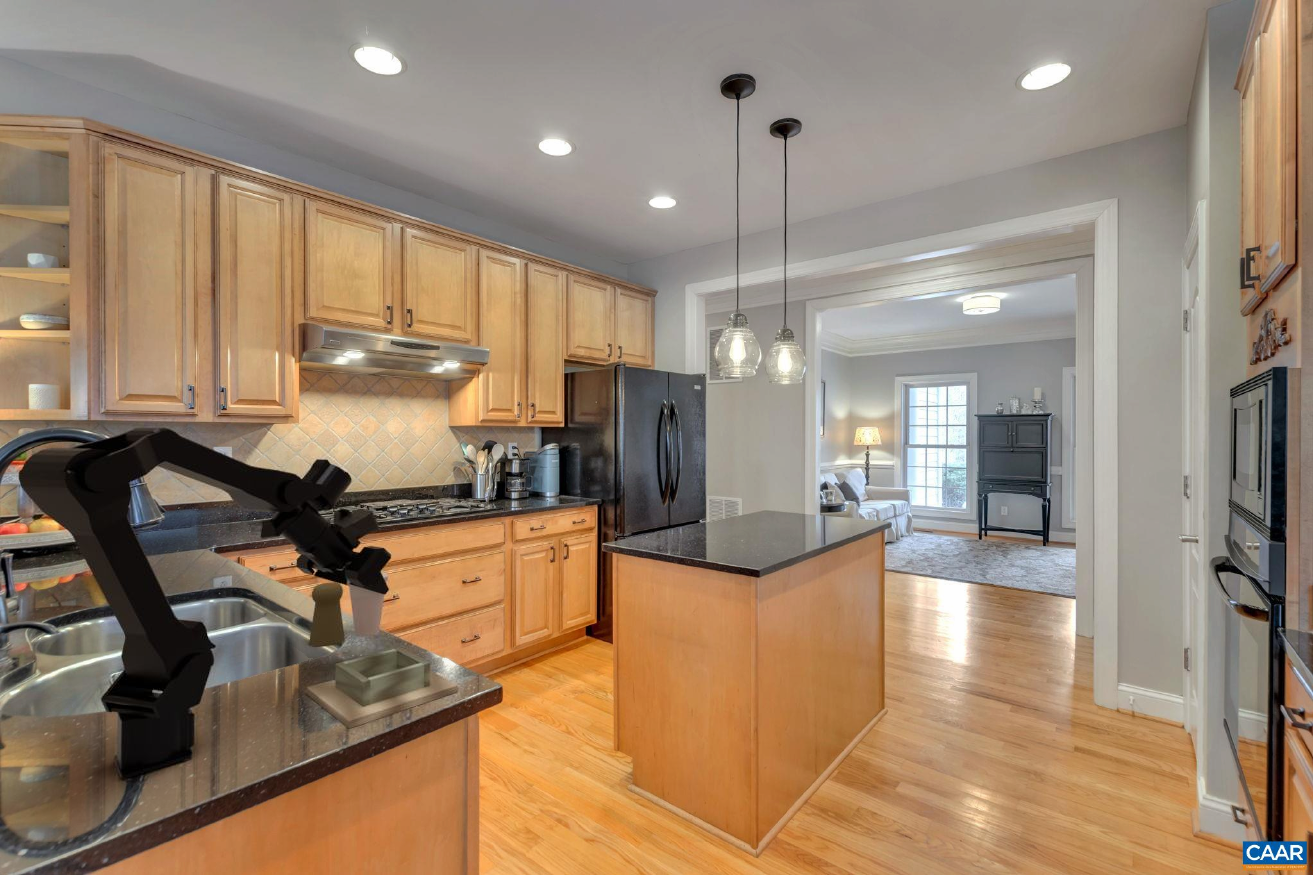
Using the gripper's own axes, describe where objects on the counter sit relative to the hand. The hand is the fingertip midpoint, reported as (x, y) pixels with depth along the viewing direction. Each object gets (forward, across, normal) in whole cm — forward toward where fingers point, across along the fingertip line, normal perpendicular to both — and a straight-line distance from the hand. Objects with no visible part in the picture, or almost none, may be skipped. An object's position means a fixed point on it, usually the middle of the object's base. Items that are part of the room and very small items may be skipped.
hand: (374, 589), depth 104 cm
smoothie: (+4, 0, +6) cm, 8 cm away
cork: (+10, +18, +8) cm, 22 cm away
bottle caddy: (+4, -12, +14) cm, 19 cm away
